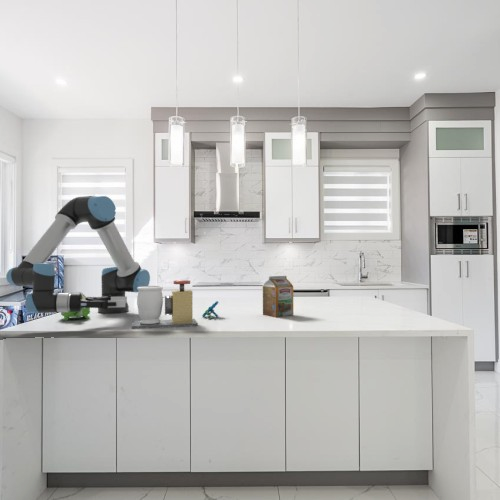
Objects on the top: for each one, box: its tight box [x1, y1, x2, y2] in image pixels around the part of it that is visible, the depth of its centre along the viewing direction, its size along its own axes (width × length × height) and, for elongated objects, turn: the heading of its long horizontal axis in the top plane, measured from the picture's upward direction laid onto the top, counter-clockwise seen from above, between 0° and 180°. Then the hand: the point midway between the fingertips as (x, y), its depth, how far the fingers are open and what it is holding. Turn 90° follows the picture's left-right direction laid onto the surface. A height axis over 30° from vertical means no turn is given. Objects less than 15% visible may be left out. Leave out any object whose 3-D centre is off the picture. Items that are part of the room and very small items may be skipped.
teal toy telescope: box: [201, 300, 220, 319], centre depth 184 cm, size 11×6×10 cm
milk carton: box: [262, 275, 294, 318], centre depth 190 cm, size 11×11×19 cm
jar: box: [136, 285, 164, 324], centre depth 163 cm, size 11×10×15 cm
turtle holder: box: [60, 291, 91, 322], centre depth 179 cm, size 12×18×12 cm
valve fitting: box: [131, 279, 199, 330], centre depth 164 cm, size 13×26×18 cm, turn 104°
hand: (126, 301), depth 161 cm, fingers open, 13 cm apart
